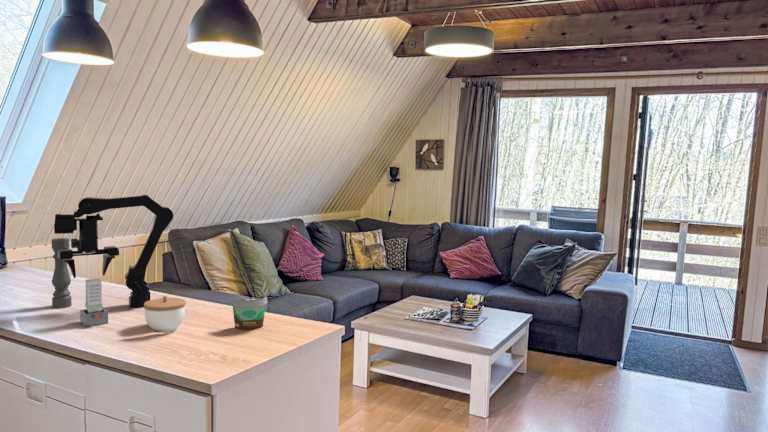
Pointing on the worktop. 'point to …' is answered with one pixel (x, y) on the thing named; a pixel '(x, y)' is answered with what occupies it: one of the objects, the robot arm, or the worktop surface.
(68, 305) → the candle holder
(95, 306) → the grey tall block
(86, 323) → the stand base
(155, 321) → the lidded bowl
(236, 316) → the food container
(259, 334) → the worktop surface
